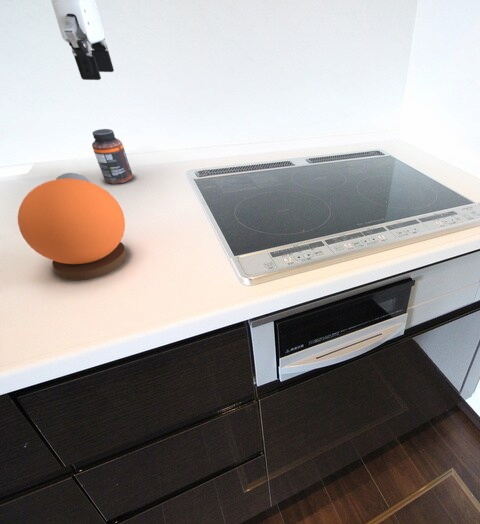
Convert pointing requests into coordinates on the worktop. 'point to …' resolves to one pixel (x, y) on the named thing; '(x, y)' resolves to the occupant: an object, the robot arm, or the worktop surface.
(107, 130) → the supplement bottle
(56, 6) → the robot arm
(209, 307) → the worktop surface
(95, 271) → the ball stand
